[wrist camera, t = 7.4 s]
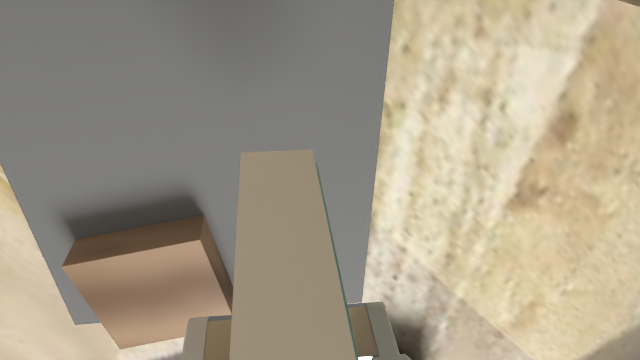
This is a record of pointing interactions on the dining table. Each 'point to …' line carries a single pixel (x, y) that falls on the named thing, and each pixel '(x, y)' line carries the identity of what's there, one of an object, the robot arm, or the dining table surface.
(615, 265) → the dining table surface
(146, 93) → the mat
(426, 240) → the dining table surface
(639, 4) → the vintage camera
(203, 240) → the walnut block
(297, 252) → the box
